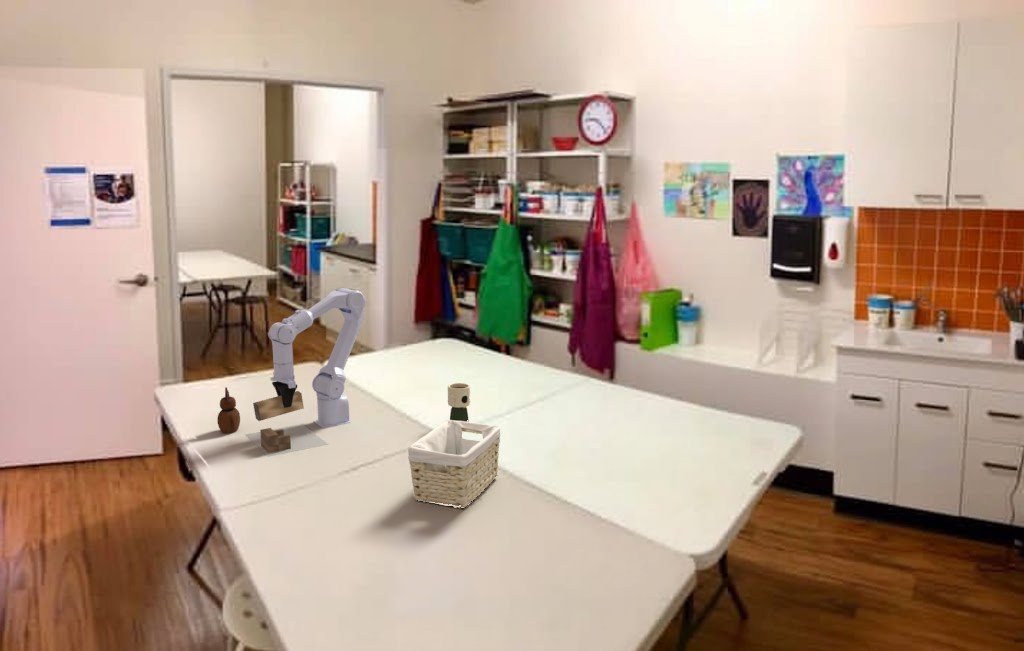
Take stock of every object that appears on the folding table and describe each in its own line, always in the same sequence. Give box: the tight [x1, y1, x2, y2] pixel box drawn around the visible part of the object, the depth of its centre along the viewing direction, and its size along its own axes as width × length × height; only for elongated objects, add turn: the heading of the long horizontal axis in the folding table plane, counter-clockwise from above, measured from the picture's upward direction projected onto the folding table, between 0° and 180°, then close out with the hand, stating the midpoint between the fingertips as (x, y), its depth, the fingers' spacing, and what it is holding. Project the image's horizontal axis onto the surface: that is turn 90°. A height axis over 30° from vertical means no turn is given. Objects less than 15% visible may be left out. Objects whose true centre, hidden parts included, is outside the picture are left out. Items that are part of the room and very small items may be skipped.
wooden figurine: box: [216, 386, 241, 435], centre depth 244 cm, size 7×6×15 cm
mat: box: [245, 423, 329, 457], centre depth 239 cm, size 18×22×1 cm
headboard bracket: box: [259, 427, 291, 453], centre depth 231 cm, size 6×7×5 cm
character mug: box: [447, 382, 471, 422], centre depth 253 cm, size 11×7×13 cm, turn 157°
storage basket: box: [407, 419, 501, 508], centre depth 202 cm, size 24×16×15 cm
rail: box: [252, 390, 305, 422], centre depth 241 cm, size 14×3×5 cm, turn 124°
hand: (285, 405), depth 242 cm, fingers closed on rail, 3 cm apart
